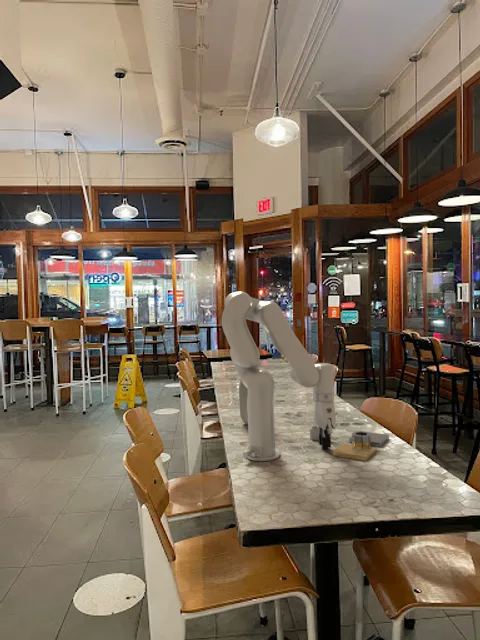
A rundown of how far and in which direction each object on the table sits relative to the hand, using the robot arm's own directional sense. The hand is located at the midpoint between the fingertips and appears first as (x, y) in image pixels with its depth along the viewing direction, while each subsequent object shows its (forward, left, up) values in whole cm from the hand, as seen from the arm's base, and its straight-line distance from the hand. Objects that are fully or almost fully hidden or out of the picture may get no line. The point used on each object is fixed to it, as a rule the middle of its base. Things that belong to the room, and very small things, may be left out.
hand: (324, 445), depth 165 cm
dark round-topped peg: (0, 0, -1) cm, 1 cm away
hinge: (+8, -11, -1) cm, 14 cm away
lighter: (+10, +7, -1) cm, 12 cm away
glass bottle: (+16, +43, -1) cm, 46 cm away
